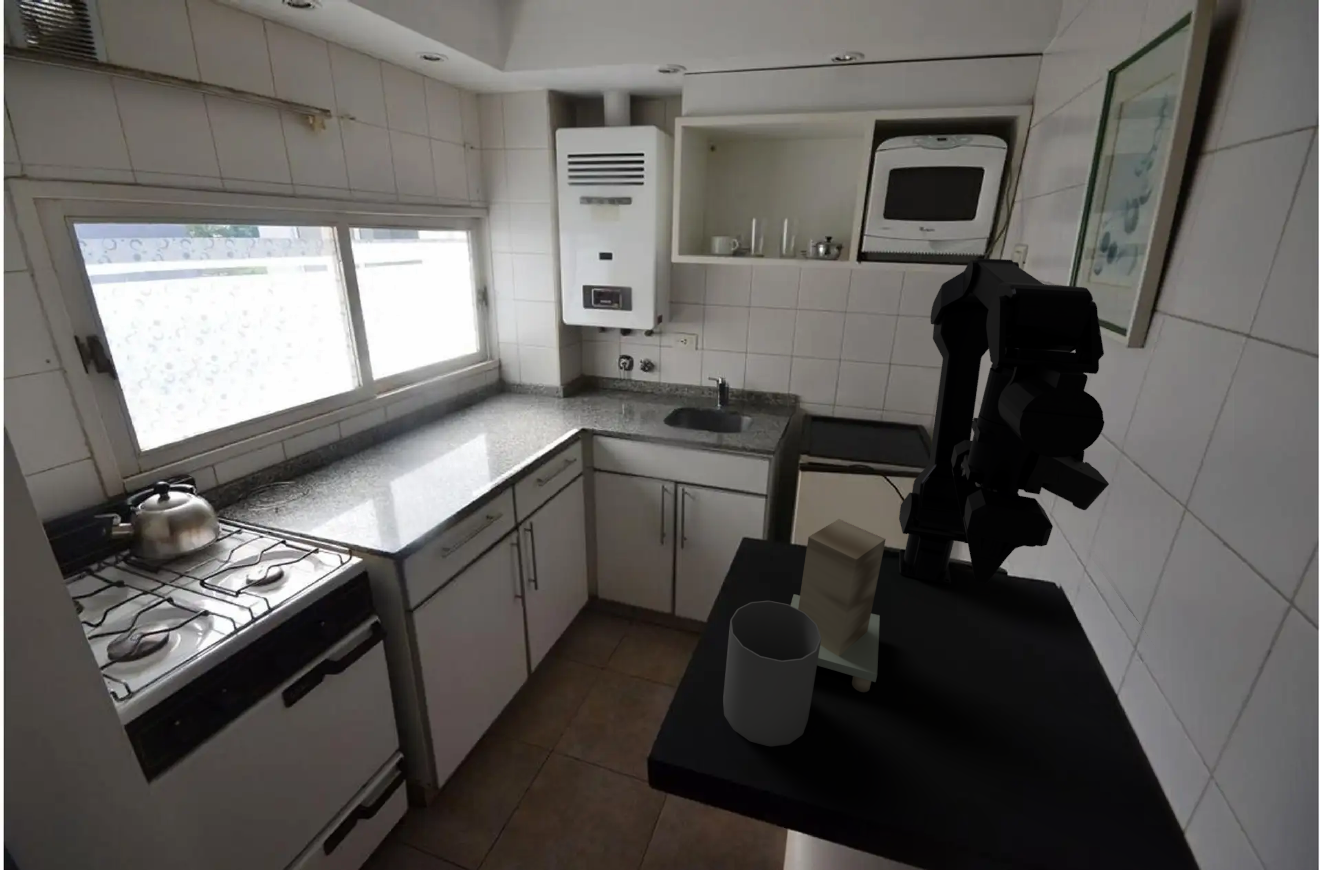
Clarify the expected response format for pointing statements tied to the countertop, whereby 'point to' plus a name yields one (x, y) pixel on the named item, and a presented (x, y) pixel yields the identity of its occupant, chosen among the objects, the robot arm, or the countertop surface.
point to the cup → (770, 672)
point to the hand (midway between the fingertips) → (975, 558)
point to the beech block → (840, 582)
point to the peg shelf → (854, 655)
